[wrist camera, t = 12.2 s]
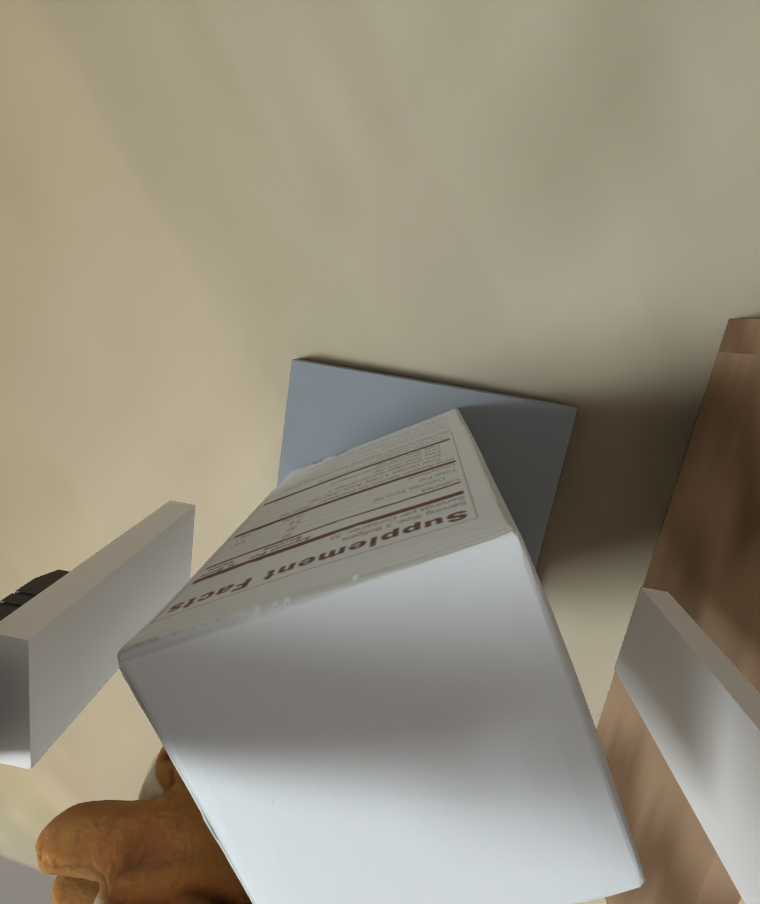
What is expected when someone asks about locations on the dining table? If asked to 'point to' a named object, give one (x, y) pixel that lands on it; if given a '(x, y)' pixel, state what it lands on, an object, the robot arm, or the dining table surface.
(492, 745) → the supplement box
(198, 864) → the stuffed squirrel
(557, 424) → the slate mat
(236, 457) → the dining table surface
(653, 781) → the walnut rack
